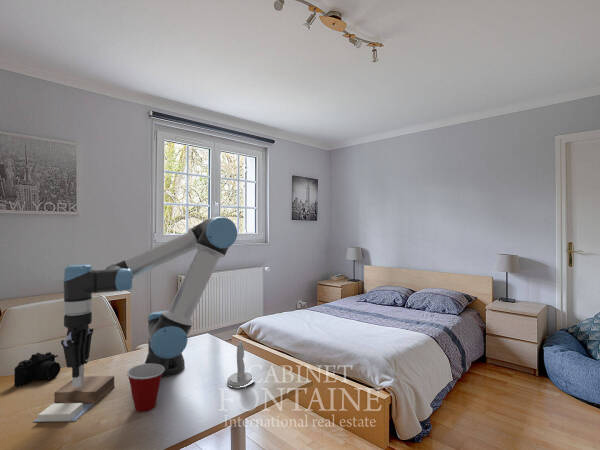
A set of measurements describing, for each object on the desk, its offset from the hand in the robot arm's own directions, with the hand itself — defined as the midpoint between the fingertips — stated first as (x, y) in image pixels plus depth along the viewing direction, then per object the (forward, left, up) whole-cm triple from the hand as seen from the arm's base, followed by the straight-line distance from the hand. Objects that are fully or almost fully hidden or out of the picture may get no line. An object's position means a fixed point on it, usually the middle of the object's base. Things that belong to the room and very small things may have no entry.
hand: (78, 385), depth 107 cm
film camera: (+24, -17, -6) cm, 31 cm away
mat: (0, +6, -5) cm, 8 cm away
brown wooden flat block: (0, -4, -5) cm, 7 cm away
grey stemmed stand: (-51, -12, -6) cm, 52 cm away
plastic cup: (-24, +4, -6) cm, 25 cm away
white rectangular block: (0, +8, -3) cm, 9 cm away
